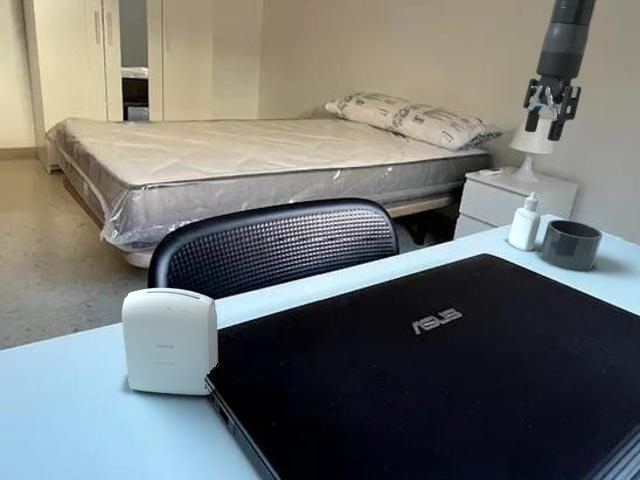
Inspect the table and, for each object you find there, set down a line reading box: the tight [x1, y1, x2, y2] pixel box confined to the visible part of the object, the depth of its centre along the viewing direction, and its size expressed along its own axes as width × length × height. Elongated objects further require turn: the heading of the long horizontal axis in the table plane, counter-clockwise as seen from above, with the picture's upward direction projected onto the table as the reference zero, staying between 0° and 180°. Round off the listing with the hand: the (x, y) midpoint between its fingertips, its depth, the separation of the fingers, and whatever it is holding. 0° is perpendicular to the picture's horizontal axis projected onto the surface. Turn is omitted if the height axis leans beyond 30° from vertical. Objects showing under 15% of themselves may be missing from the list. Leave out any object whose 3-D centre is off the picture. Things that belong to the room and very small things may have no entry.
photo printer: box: [121, 287, 219, 396], centre depth 56 cm, size 10×4×12 cm, turn 88°
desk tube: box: [539, 219, 603, 272], centre depth 99 cm, size 10×10×7 cm
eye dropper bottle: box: [508, 191, 542, 252], centre depth 104 cm, size 4×6×12 cm
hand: (540, 135), depth 101 cm, fingers open, 8 cm apart
